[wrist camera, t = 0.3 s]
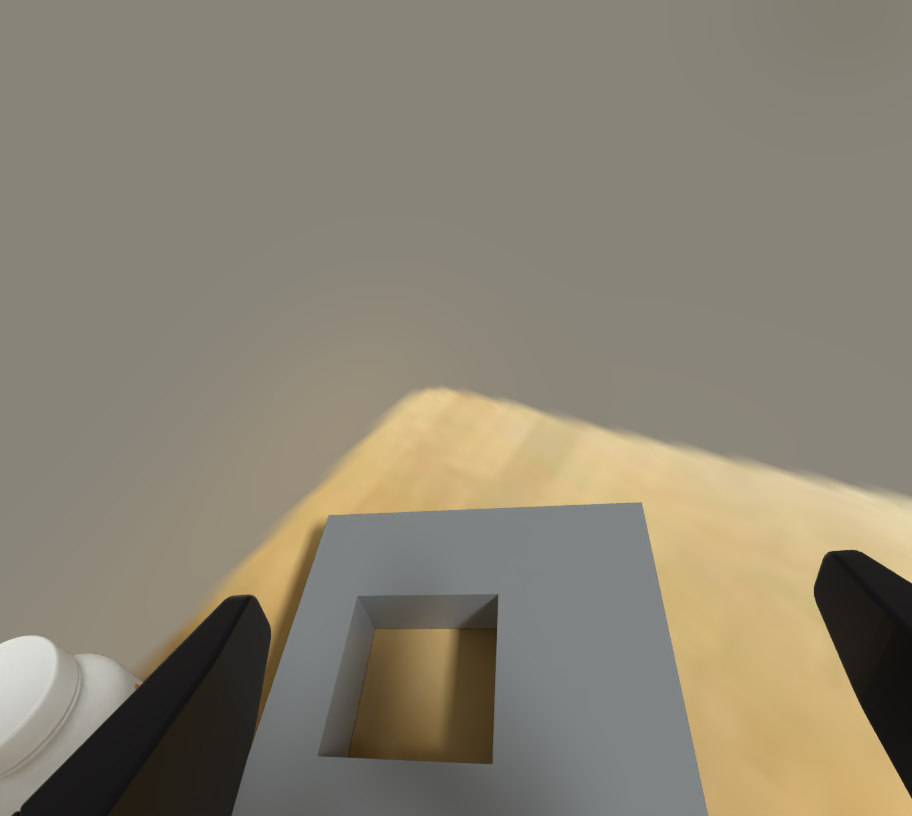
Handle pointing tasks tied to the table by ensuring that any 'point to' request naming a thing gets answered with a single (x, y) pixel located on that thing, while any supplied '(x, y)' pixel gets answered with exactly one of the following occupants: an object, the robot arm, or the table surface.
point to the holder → (517, 669)
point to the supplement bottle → (50, 710)
